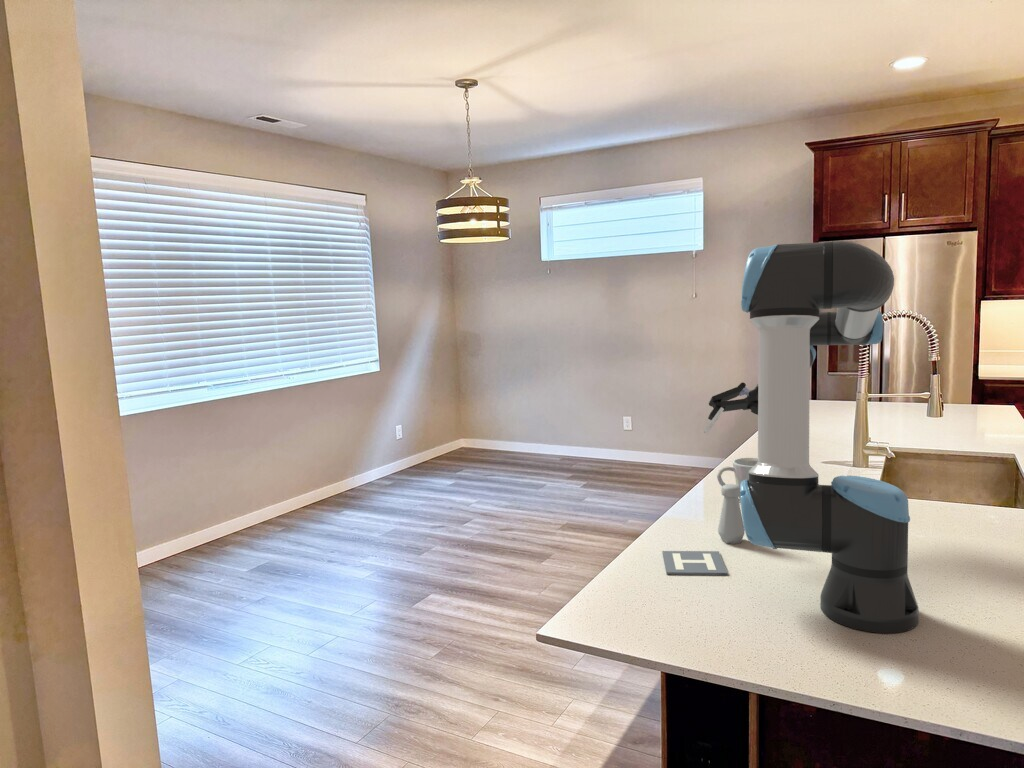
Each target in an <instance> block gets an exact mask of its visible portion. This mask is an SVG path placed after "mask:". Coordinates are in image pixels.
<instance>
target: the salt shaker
mask: <svg viewBox="0 0 1024 768" xmlns="http://www.w3.org/2000/svg"><path fill="white" fill-rule="evenodd" d="M725 484H726V483H725ZM720 491H721V492H720V493H721V495H722V496H723V500H722V501H723V502H722V507H721V512H720V517H719V523H718V528H717V532H718V535H719V537H720V540H721V541H722V542H724V543H725V544H729V543H730V544H729V545H731V544H732V545H736V544H739V543H740V544H741V543H742V540H743V538H744V537H745V534H746V533H745V529H744V524H743V518H742V511H741V504H740V498H739V496H740V487H739V486H738V485H736V483H728V484H726V485H723V486H721V489H720Z"/></svg>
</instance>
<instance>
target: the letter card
mask: <svg viewBox="0 0 1024 768" xmlns="http://www.w3.org/2000/svg"><path fill="white" fill-rule="evenodd" d="M661 552H662V558H663V563H664V567H665V568H664V569H665V573H666V575H667V574H671V576H672V575H674V576H676V575H677V576H729V575H728V573H729V572H728V571H727V568H726V565H725V562H724V561H723V559H722V556H721V554H720V551H719V550H702V551H701V550H662V551H661ZM675 574H676V575H675Z"/></svg>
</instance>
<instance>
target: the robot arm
mask: <svg viewBox="0 0 1024 768" xmlns="http://www.w3.org/2000/svg"><path fill="white" fill-rule="evenodd" d="M893 272H894V271H893V270H892V267H891V266H890V264H889V263H888V261H887V260H886V258H884V257H883V256H882V255H881V254H879V253H878V252H876V251H874V250H873V249H872V248H870V247H867V246H866V245H862V244H860V243H856V242H853V241H847V240H846V241H844V240H835V241H834V240H833V241H824V242H823V241H822V242H806V243H805V242H803V243H784V244H783V243H781V244H774V245H768V246H760V247H756V248H754V249H752V250H751V251H750V253H749V254H748V257H747V259H746V263H745V268H744V274H743V278H742V279H743V280H742V287H741V301H740V306H741V311H742V312H744V313H747V314H748V313H749V322H750V323H751V324H752V325H753V327H755V328H756V329H757V330H758V360H757V361H758V366H757V367H758V368H757V369H758V370H757V371H758V372H757V373H758V374H757V375H758V380H757V381H758V383H757V384H756V386H755V387H754V388H753V389H751V390H750V389H749V388H748V387H746V386H747V385H746V383H745V382H743V381H742V382H740V383H739V384H738V385H737V386H736V387H734V388H733V387H732V388H731V389H728V390H726V391H723V392H721V393H718V394H715V395H712V396H711V398H710V400H709V401H708V406H710V407H712V408H713V409H712V410H711V412H710V413H709V415H708V417H707V419H708V420H710V422H709V423H708V424H707V426H706V427H705V430H704V431H703V433H705V434H706V435H707V434H709V432H710V431H711V429H712V428H713V426H715V423H716V422H718V420H719V418H720V417H721V415H722V413H725V412H732V411H739V410H740V411H741V410H743V411H749V410H750V412H751V413H753V414H755V415H757V458H758V462H757V463H756V465H755V466H754V467H752V468H751V469H750V470H749V480H747V479H746V480H744V481H742V482H741V484H740V495H741V498H739V501H740V510H741V515H742V519H743V524H744V529H745V533H744V534H745V536H746V538H747V540H748V541H749V543H751V544H752V545H755V546H759V547H766V548H772V549H773V550H777V549H783V550H791V551H792V550H795V551H802V552H803V551H804V552H805V551H806V552H813V553H814V552H817V553H827V554H831V567H830V568H829V572H828V575H827V577H826V579H825V582H824V584H823V588H822V590H821V592H820V604H819V605H820V610H821V612H822V613H823V614H824V616H826V617H828V618H829V619H830V620H832V621H834V622H836V623H838V624H839V625H842V626H845V627H848V628H851V629H856V630H860V631H863V632H868V633H869V632H870V633H878V634H895V633H902V632H903V633H904V632H907V631H910V630H912V629H914V628H915V627H917V625H918V624H919V617H920V615H919V611H920V610H919V605H918V602H917V600H916V597H915V593H914V590H913V587H912V585H911V582H910V579H909V575H908V567H909V566H908V564H909V563H908V562H909V522H910V521H911V516H910V513H909V499H908V495H907V494H906V492H904V491H903V490H902V489H901V488H899V487H898V486H896V485H894V484H891V483H888V482H886V481H883V480H879V479H875V478H871V477H866V476H860V475H859V476H858V475H838V476H835V477H834V478H832V481H831V482H830V484H831V485H830V484H829V485H828V484H819V473H818V472H817V471H816V470H815V469H814V468H813V466H811V464H810V390H811V389H810V384H811V383H810V379H811V378H810V376H811V375H810V373H811V372H810V369H811V367H812V366H813V364H814V361H815V359H816V356H817V351H816V348H815V347H814V346H847V345H848V346H855V345H856V346H859V345H860V346H867V345H877V344H879V343H880V344H881V342H882V340H883V334H884V330H883V329H884V318H883V313H882V311H880V308H881V307H883V306H884V305H885V304H886V303H887V302H888V301H889V300H890V298H891V295H892V293H893V290H894V286H895V277H894V276H895V275H894V273H893ZM829 309H830V310H831V309H836V311H821V310H829ZM744 395H745V396H746V397H744V398H739V399H735V398H738V397H739V396H740V397H742V396H744Z"/></svg>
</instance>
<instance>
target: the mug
mask: <svg viewBox="0 0 1024 768" xmlns="http://www.w3.org/2000/svg"><path fill="white" fill-rule="evenodd" d="M757 462H758V457H740V458H735V459H734V460H733V461H732V466H725V467H721V468H720V469H719V470H718V473H717V475H716V479H717V481H718V483H719V485H720V486H721V487H722V486H723V485H726V483H725V482H724V480H723V478H722V474H723V473H725V472H726V471H729V472H733V473H734V479H735V485H738V486H739V487H740V484H741V482H742V481H744V480H746V479H747V480H749V470H750V469H751V468H752V467H754V466H755V465H756V463H757ZM740 498H741V495H740V496H739V497H738V499H740Z"/></svg>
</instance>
